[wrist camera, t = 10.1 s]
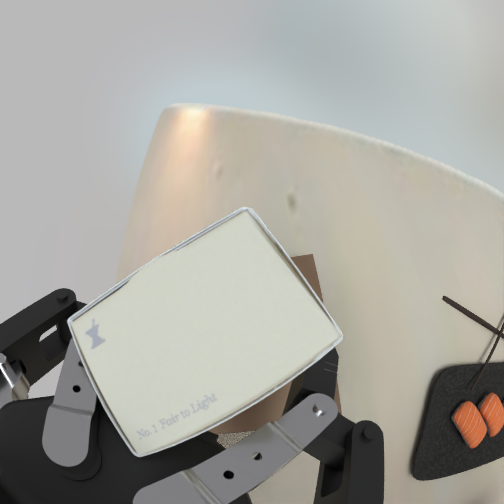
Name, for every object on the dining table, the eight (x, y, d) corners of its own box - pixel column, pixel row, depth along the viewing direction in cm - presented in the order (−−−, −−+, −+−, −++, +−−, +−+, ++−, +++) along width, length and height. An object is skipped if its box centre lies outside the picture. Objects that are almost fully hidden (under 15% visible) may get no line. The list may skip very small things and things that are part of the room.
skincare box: (215, 401, 16) (132, 468, 5) (179, 345, 17) (58, 320, 6) (296, 351, 17) (355, 343, 6) (258, 296, 18) (247, 197, 7)
